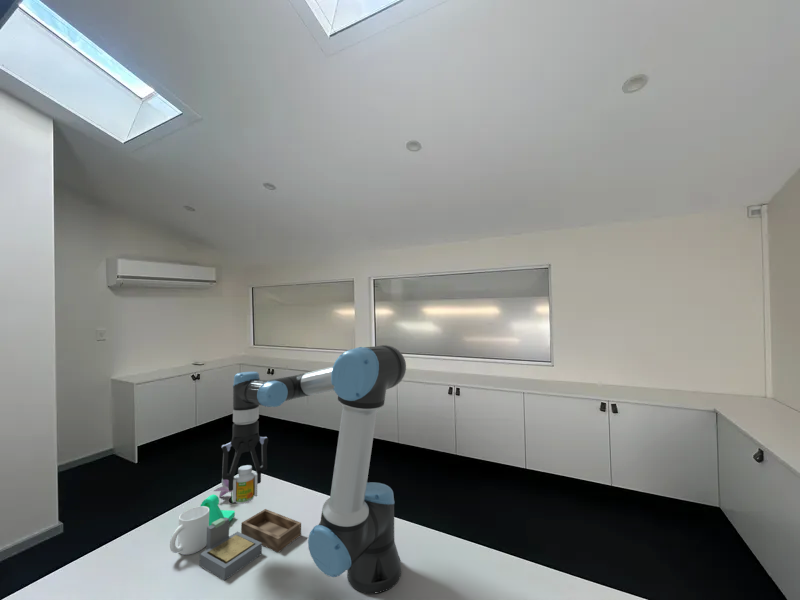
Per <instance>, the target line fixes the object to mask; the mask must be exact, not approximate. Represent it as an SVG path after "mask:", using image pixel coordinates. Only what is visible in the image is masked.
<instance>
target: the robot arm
mask: <svg viewBox="0 0 800 600" xmlns="http://www.w3.org/2000/svg"><path fill="white" fill-rule="evenodd" d="M406 370H407V363H406V359H405V357H404V355H403V353H402V352H401V351H400V350H398V349H397V348H396V347H394V346H391V345H387V344H385V345H375V346H365V347H362V346H359V347H355V348H351V349H348V350H346V351H344V352H343V353H342V354H340V355H339V356H338V357H337V359H336V360H335V361H334V364H333V365H332V366H328V367H324V368H321V369H316V370H313V371H309V372H305V373H300V374H294V375H291V376H285V377H284V376H283V377H278V378H273V379H261V378H260V373H259V372H258V371H243V372H238V373H236V374H235V375H234V377H233V384H232V408H233V409H232V422H233V423H232V437H231V439H230V442H228V443H226V444H222V445H221V446H220V447H221V449H222V467H221V469H222V470H221V479H222V478H223V480H228V488H229V491H232V499H231V502H232V501H233V503H236V476H235V474H236V472H237V468H238V466H239V465H238V464H239V461H240V458H241V457H242V454H244V453H249V452H250V454H251V458H252V462H253V464H254V467H255V470H256V471H253V474H254V497H257V496H258V484H261V482H262V473H263V471H265V470H268V449H267V448H268V443H269V438H268V437H267V436H266V435H265V436H261V435H260V434H259V428H260V427H259V423H260V421H259V420H258V419H259V418H260V415H259V414H260V409H259V408H260V407H259V406H263V407H265V408H266V407H267V408H275V407H277V408H278V407H279V406H281V405H282V404H283V403H284V402H287V401H290V400H295V399H300V398H305V397H308V396H309V397H310V396H313V395H314V396H315V395H319V394H324V393H328V392H335V394H336V395H337V402H338V403H339V404H340V406H341V407H342V411H341V416H340V424H339V431H338V437H337V446H336V453H335V459H334V467H333V473H332V474H333V475H332V481H331V489H330V497H329V498H327V499H326V500H325V501H324V503H323V505H322V508H321V510H322V511H321V515H320V522H319V523H318V524H317V525H316V524H315V526H313V528H312V529H311V530H310V532H309V534H308V540H307V543H308V551H309V554H310V556H311V559H312V561H313V564H315V566H316V567H317V568H318V570H319V571H321V572H322V573H323V574H324V575H326V576H328V577H333V578H336V577H339V576H341V575H343V574H344V573H345V572H347V574H346V575H347V577H346V578H347V581H348V583H349V585H350V586H351V587H352V588H353V589H354V590H357V591H358V592H360V591H361V593H363V592H364V593H363V594H370V593H373V594H376V593H375V592H380V591H383V590H386V589H388V590H390V589H392V588H393V587H394V586H395V585H397V584H398V582H399V580H400V578H401V576H402V561H401V557H400V555H399V552H398V549H397V545H396V542H395V502H396V501H395V498H394V491H393V489H392V488H391V486H389V485H387V484H385V483H381V482H375V481H374V482H370V481H369V482H368V478H369V476H368V475H369V469H370V462H371V457H372V456H371V455H372V450H373V449H372V448H373V441H374V435H375V429H376V428H375V427H376V420H377V413H378V411H379V410H380V409H382V408H384V405H385V401H386V394H387V393H386V392H387V390H389V389H392V388H394V387H396V386H397V385H398V384H400V383H401V382H402V380H403V379H404V378H405V374H406V373H407V372H406ZM258 443H260V445H261V446H260V447H261V465H260V461H259V458H258V455H257V452H256V448H255V447H256V446H257V444H258ZM231 447H232V448H233V449H234V450H235V452H234V457H233V459H232V463H231V465H230V469H229V467H228V466H229V452H230V450H231ZM228 469H229V473H228ZM233 503H232V504H233ZM393 585H394V586H393ZM392 586H393V587H392ZM389 588H390V589H389ZM386 591H387V590H386ZM380 593H381V592H380Z"/></svg>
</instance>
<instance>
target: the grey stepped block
mask: <svg viewBox="0 0 800 600" xmlns="http://www.w3.org/2000/svg"><path fill="white" fill-rule="evenodd" d="M235 535H237V536H239V537H242V538H244V539H246V540H248V541H250V542H252V543H254V546H252V547H251V548H249V549H248V550H246V551H245V552H243V553H242V554H240V555H239V556H237V557H236V558H234V559H233V560H231V561H230V562H228V563H227V564H225V563H224V562H222V561H220V560H218V559H217V558H215V557H213V556H211V555H209V551H210V550H212V549H214V548H215V547H217V546H219V545H220V544H222V543H224V542H225V541H227V540H228V539H230V538H232V537H233V536H235ZM262 553H263V545H262V543H261V542H259V541H257V540H255V539H253V538H250V537H248V536H246V535H244V534H242V533H241V531H240V532H239V531H236V532H235V533H233V534H231V535H230V521H229V519H228V518H226V517H225V518H223V519H222V518H220V519H218V520H216V521H214V522H213V523H212V525H210V526H208V527H207V539H206V546H205V550H204V551H202V552H201V553H199V566H200V567H201V568H202V569H204V570H206V571H208V572H210V573H211V574H213V575H214V576H216V577H218V578H219V579H221V580H223V581H226V580H227V579H229V578H230V577H231V576H233V575H234V574H236V573H237V572H238V571H240V570H241V569H243V568H244V567H245V566H248V564H249V563H251V562H253V561H254V560H256V558H258V557H260V556H261V555H263V554H262Z"/></svg>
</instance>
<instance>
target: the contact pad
mask: <svg viewBox="0 0 800 600" xmlns="http://www.w3.org/2000/svg"><path fill="white" fill-rule="evenodd" d="M252 546H254V543H252V542H250V541H248V540H246V539H244V538H242V537H239V536H237V535H235V536H233V537H232V538H230V539H228V540H227V541H225V542H224V543H222V544H220V545H219V546H217V547H215V548H214V549H212V550H210V551H209V555H211V556H213V557H215V558H217V559H218V560H220V561H222V562H224V563H225V564H227V563H228V562H230V561H231V560H233V559H234V558H236V557H237V556H239V555H240V554H242V553H243V552H245V551H246V550H248V549H249V548H251V547H252Z"/></svg>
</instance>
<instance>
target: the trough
mask: <svg viewBox="0 0 800 600" xmlns="http://www.w3.org/2000/svg"><path fill="white" fill-rule="evenodd" d="M240 525H241V528H240V529H241V530H240V533H242V534H244V535H246V536H248V537H250V538H253V539H255V540H257V541H259V542H261V543H262V547H265V548H267V549H269V550H271V551H273V552H276V553H279V552H281V551H282V550H284V549H285V548H286V547H288V546H289V545H290V544H291V543H293V542H295V541H296V540H297V539H298V538H300V537H301V536H302V522H301V521H298V520H296V519H292V518H290V517H287V516H285V515H283V514H280V513H277V512H275V511H272V510H270V509H267V508H265V509H263V510H260V511H259V512H258V513H256V514H254V515H253V516H251V517H249V518H247V519H245V520H244V521H242V522H241V524H240Z"/></svg>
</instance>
